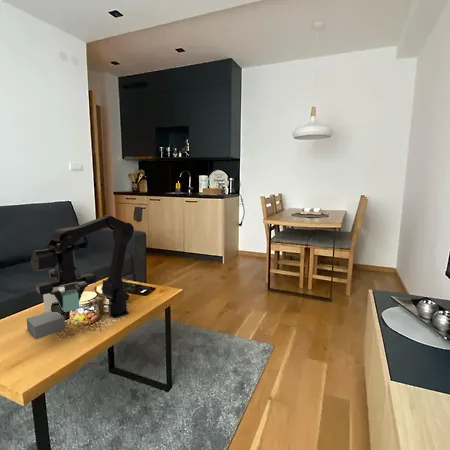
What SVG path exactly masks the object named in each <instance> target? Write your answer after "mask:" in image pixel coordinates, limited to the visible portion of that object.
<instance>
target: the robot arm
mask: <svg viewBox="0 0 450 450" xmlns="http://www.w3.org/2000/svg"><path fill="white" fill-rule="evenodd" d="M105 228H108V229H109V230H111V231H112V237H113V240H114V244H113V245H114V246H113V251H112V252H113V253H112V259H111V264H110V269H109V274H108V275H109V276H108V277H107V278H106V279H103V281H102V286H101V289H100V290H101V291H102V292H101V293H102V295H103V296H104V297H105V298H106V300H108V304H107V307H108V308H107V311H108V312H107V313H108V314H109V315H110V316H111V317H112V318H114V319H115V318H119V317H121V316H125V315H128V314H129V311H128V307H127V301H129V298H130V294H128V293H127V291H124V290H125V289H124V288H125V287H124V286H125V285H124V281H123V277H122V276H123V270H124V264H125V257H126V253H127V247H128V244H129V242H130V241H131V239H132V238H133V234H134V231H135V227H134V226H133V224H132V223H130V222H125V221H123V220H120V219H118V218H116V217H114V216H113V215H102V216H101V217H97V218H95V219H93V220H90V221H87V222H85V223H81V224H80V225H77V226H71V227H64V228H63V227H62V228H58V229H55V230H54V231H53V232H52V234H51V239H50V240H49V242H48V243H47V245H46V246H45V249H44V248H43V249H37V250H33V251H32V253H33V254H32V255H31V259H30V265H31V268H32V270H34V271H35V272H39V271H45V270H48V277H49V279H54V280H55V281H57V282H50V280H47V281H43V282H38V283H37V284H36V286H35V288H36V289H35V290H36V292H37V294H39V295H40V296H43V295H44V294H48V293H50V294H51V295H54V296H55V297H56V299H57V301H58V303H59V305H60V307H61V308H63V303H62V297H61V292H60V291H59V290H58V288H59V287H67V286H71V285H75V290H76V291H77V292H78V297H79V302H80V301H81V298H82V295H83V293H84V291H85V289H86V288H87V287H89V285H91V284H96V283H97V282H98V281H97V275H95V274H93V273H92V272H87V273H81V274H80V277H77V267H76V259H75V251H79V250H81V248H80V246H77V245H76V244H77V243H78V242H79V241H81V239H82V238H84V237H86V236H88V235H90V234H93V233H96V232H98V231H100V230H103V229H105ZM52 268H53V269H52ZM55 268H56V269H55Z"/></svg>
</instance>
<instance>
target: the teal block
mask: <svg viewBox="0 0 450 450" xmlns="http://www.w3.org/2000/svg"><path fill="white" fill-rule="evenodd" d="M61 297H62V303H63V308H61V309H62V310H63V311H64V312H65V313H68V312H71V311H75V310H79V309H80V301H79V297H78V292H77V291H76V289H69V290H65V291H64V292H61Z"/></svg>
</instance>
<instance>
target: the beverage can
mask: <svg viewBox="0 0 450 450" xmlns="http://www.w3.org/2000/svg"><path fill="white" fill-rule="evenodd" d="M65 289H66V288H65V286H63V287H59V288H58V290H59V291H60V292H64V291H66V290H65ZM42 297H43V308H44V313H46V312H50V311H51V305H52V303H54V302H58V301H57V299H56V297H55V296H54V295H51V294H50V293H48V294H44V295H42Z"/></svg>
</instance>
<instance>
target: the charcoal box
mask: <svg viewBox="0 0 450 450" xmlns="http://www.w3.org/2000/svg"><path fill="white" fill-rule="evenodd" d="M25 320H26V326H27V331H28V332H29V333H30V334H31V336H33V338H34V339H35V340H38V339H41V338H43V337H46V336H49V335H52V334H54V333H55V334H56V333H58V332H60V331H63V330H66V320H65V316H64V315H63V314H62V315H61V314H60V313H58V312H52V311H50V312H46V313H45V312H44V313H40V314H37V315H34V316H30V317H26V319H25Z"/></svg>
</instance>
